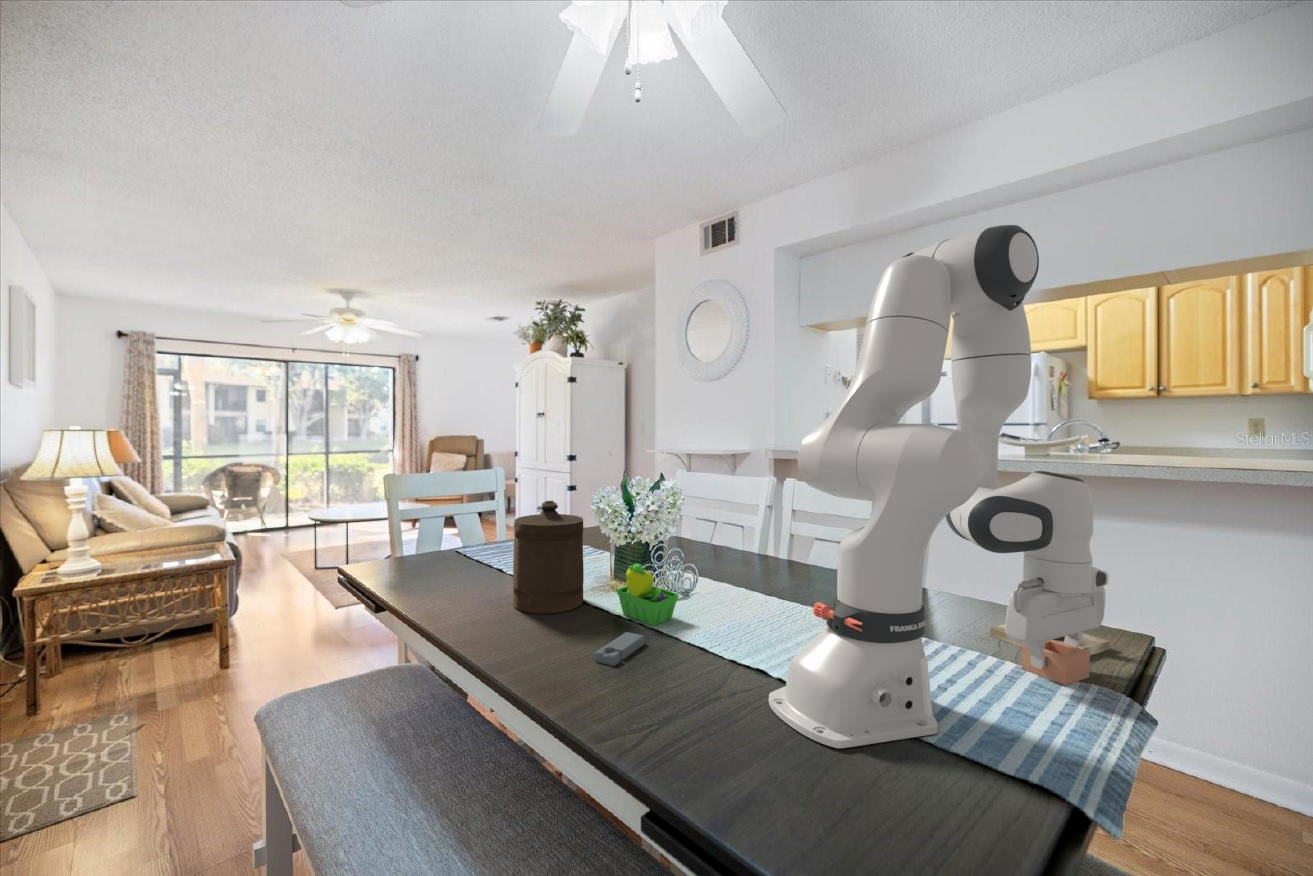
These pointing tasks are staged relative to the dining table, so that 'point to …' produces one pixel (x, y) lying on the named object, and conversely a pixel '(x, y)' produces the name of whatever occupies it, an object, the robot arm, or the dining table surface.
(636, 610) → the fruit basket
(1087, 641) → the pin stand
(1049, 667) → the orange square ring
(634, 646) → the bracket
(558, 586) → the wooden container
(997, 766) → the dining table surface
